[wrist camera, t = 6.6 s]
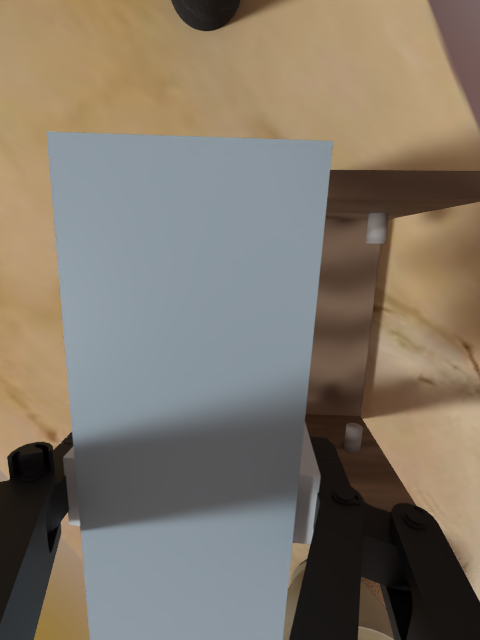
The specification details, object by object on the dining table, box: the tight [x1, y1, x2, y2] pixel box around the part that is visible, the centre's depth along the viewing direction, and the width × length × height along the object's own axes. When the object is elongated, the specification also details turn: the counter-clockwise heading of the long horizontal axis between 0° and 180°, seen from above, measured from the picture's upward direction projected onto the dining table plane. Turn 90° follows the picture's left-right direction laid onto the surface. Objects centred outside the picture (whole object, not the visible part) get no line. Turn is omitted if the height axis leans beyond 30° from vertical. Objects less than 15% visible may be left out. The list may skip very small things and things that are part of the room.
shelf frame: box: [305, 170, 480, 512], centre depth 29 cm, size 26×14×17 cm, turn 179°
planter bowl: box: [283, 561, 394, 640], centre depth 42 cm, size 16×16×11 cm
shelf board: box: [47, 132, 333, 640], centre depth 12 cm, size 22×7×4 cm, turn 177°
